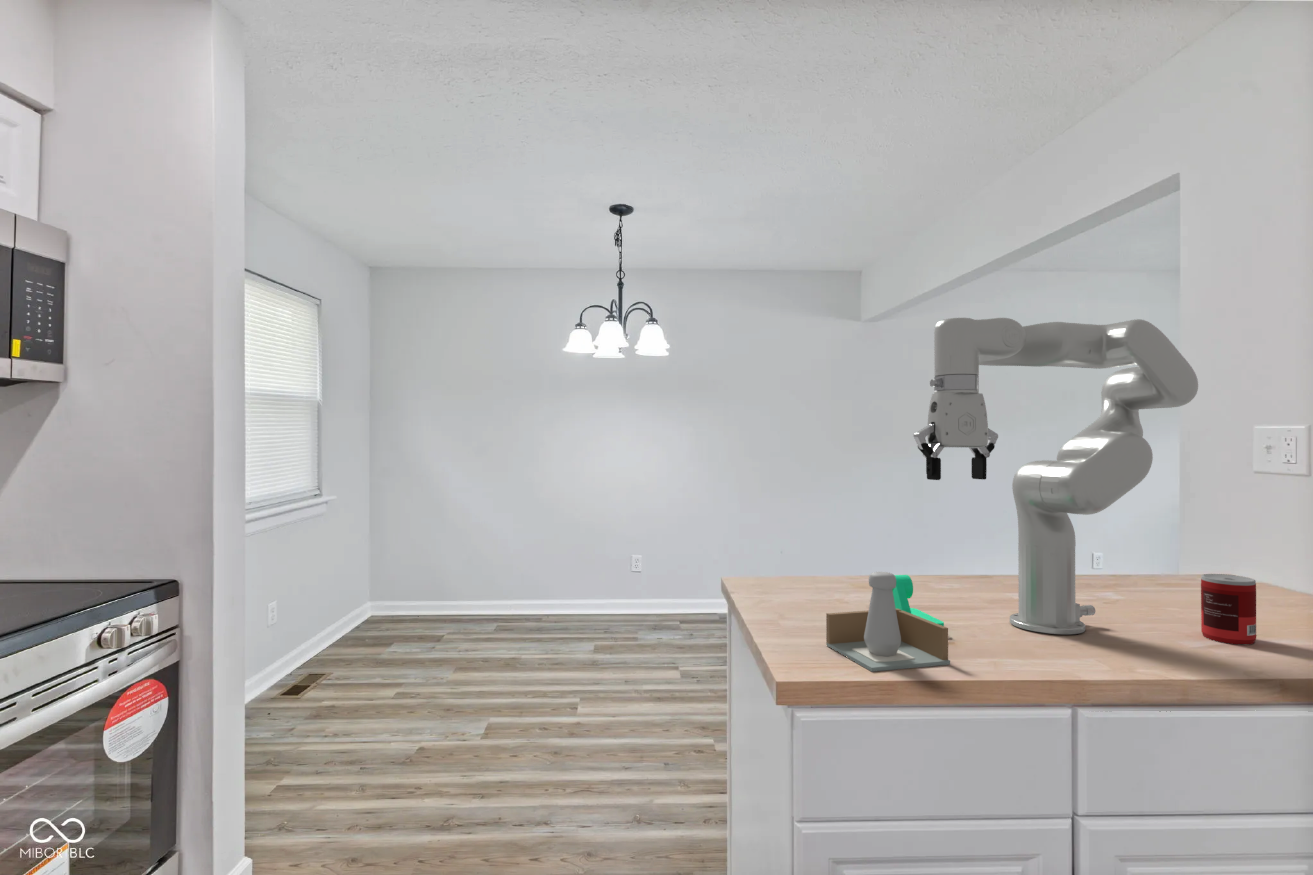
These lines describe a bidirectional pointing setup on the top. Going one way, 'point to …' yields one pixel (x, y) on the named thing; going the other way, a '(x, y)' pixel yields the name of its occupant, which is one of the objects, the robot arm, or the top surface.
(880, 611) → the salt shaker
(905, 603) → the camera mount
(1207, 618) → the canned food
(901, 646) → the grey and wooden tray
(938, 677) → the top surface
